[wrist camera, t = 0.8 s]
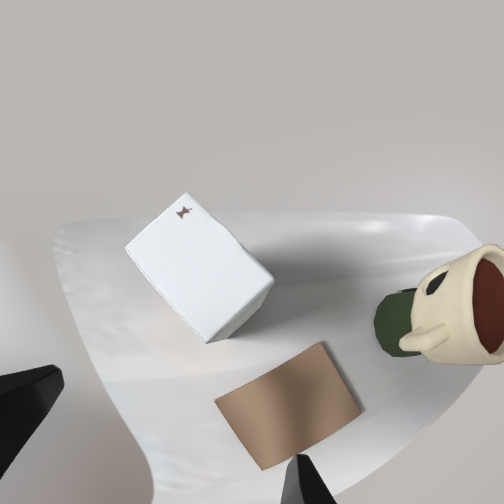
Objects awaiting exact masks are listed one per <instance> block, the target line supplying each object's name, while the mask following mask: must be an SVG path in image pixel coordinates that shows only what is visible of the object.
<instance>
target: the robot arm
mask: <svg viewBox="0 0 504 504" xmlns="http://www.w3.org/2000/svg"><path fill="white" fill-rule="evenodd" d="M63 388H64V379H63V375H62V371H61V369H60V368H58V367H57V366H55V365H47V366H43V367H39V368H34V369H30V370H26V371H21V372H17V373H12V374H7V375H2V376H0V479H1V478H2V476H3V475H4V473H5V472H6V470H7V469H8V467H9V466H10V464H11V463H12V462H13V460H14V459H15V457H16V456H17V454H18V453H19V452H20V450H21V449H22V447H23V446H24V445H25V443H26V442H27V441H28V439H29V438H30V437H31V435H32V434H33V433H34V431H35V430H36V429H37V427H38V426H39V425H40V424H41V422H42V421H43V420H44V418H45V417H46V415H47V414H48V412H49V411H50V410H51V408H52V406H53V405H54V403H55V401H56V400H57V398H58V396H59V395H60V393H61V391H62V390H63ZM281 504H337V503H336V502H335V500H334V499H333V497H332V495H331V493H330V492H329V490H328V488H327V487H326V485H325V483H324V482H323V480H322V478H321V477H320V475H319V473H318V471H317V470H316V468H315V466H314V465H313V463H312V461H311V459H310V458H309V456H308V455H305V454H296V455H295V456H294V457H293V459H292V460H291V461H290V463H289V464H288V467H287V470H286V476H285V482H284V487H283V493H282V498H281Z"/></svg>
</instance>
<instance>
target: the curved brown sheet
mask: <svg viewBox="0 0 504 504" xmlns="http://www.w3.org/2000/svg"><path fill="white" fill-rule="evenodd" d="M214 402H215V403H216V405H217V406H218V408H219V410H220V411H221V413H222V414H223V416H224V417H225V419H226V420H227V422H228V423H229V425H230V426H231V428H232V429H233V431H234V432H235V434H236V435H237V437H238V438H239V440H240V441H241V443H242V444H243V445H244V447H245V448H246V450H247V451H248V452H249V454H250V455H251V457H252V458H253V459H254V461H255V462H256V463H257V465H258V466H259V467H260V469H261V470H262V471H263V470H265V469H268V468H270V467H272V466H274V465H276V464H278V463H280V462H282V461H284V460H286V459H288V458H290V457H292V456H294V455H296V454H298V453H300V452H301V451H303V450H305V449H307V448H309V447H310V446H312V445H314V444H316V443H317V442H319V441H321V440H322V439H324V438H326V437H327V436H329V435H331V434H332V433H334V432H335V431H337V430H338V429H340V428H341V427H343V426H344V425H346V424H347V423H349V422H350V421H352V420H353V419H355V418H356V417H357V416H359V415H360V414H362V413H361V412H360V410H359V408H358V406H357V405H356V403H355V401H354V399H353V398H352V396H351V394H350V392H349V391H348V389H347V387H346V386H345V384H344V382H343V380H342V379H341V377H340V375H339V374H338V372H337V370H336V368H335V367H334V365H333V363H332V362H331V360H330V358H329V356H328V355H327V353H326V351H325V350H324V348H323V346H322V345H321V343H320V342H318V343H316V344H315V345H313V346H311V347H310V348H308V349H307V350H305V351H303V352H302V353H300V354H299V355H297V356H295V357H294V358H292V359H290V360H289V361H287V362H285V363H283V364H282V365H280V366H278V367H277V368H275V369H273V370H271V371H270V372H268V373H266V374H264V375H262V376H260V377H259V378H257V379H255V380H253V381H251V382H249V383H247V384H245V385H244V386H242V387H240V388H238V389H236V390H234V391H232V392H230V393H228V394H226V395H224V396H222V397H220V398H217V399H215V401H214Z"/></svg>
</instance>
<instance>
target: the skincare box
mask: <svg viewBox="0 0 504 504" xmlns="http://www.w3.org/2000/svg"><path fill="white" fill-rule="evenodd" d="M125 249H126V251H127V252H128V254H129V255H130V256H131V258H132V259H133V261H134V262H135V263H136V265H137V266H138V268H139V269H140V270H141V272H142V273H143V274H144V275H145V277H146V278H147V279H148V280H149V282H150V283H151V284H152V285H153V286H154V287H155V288H156V290H157V291H158V292H159V293H160V294H161V295H162V296H163V297H164V299H165V300H166V301H167V302H168V303H169V304H170V306H171V307H172V308H173V309H174V310H175V311H176V312H177V313H178V315H179V316H180V317H181V318H182V319H183V320H184V321H185V322H186V323H187V324H188V326H189V327H190V328H191V329H192V330H193V331H194V332H195V333H196V334H197V335H198V336H199V337H200V338H201V340H202V341H203V342H204V343H205V344H208V343H212V342H217V341H220V340H225V339H227V338H228V337H229V336H230V335H231V334H233V333H234V332H235V331H236V330H237V329H238V328H239V327H240V326H241V325H242V324H243V323H244V322H246V321H247V320H248V319H249V318H250V317H251V316H252V315H253V314H254V313H255V312H256V311H257V310H258V309H259V308H260V307H261V305H262V303H263V301H264V299H265V298H266V296H267V294H268V292H269V290H270V288H271V287H272V285H273V284H274V282H275V278H274V277H273V275H272V274H271V273H270V272H269V271H268V270H267V269H266V268H265V267H264V266H263V265H262V264H261V263H259V262H258V261H257V260H256V259H255V258H254V257H253V255H252V254H251V253H249V252H248V251H247V250H246V249H245V247H244V246H243V245H242V244H241V243H240V242H239V241H238V240H237V239H236V237H235V236H234V235H233V234H232V233H231V232H230V231H229V230H228V229H227V228H226V227H225V226H224V225H222V224H221V223H220V222H219V221H218V220H217V219H216V218H215V217H214V216H213V215H212V214H211V213H210V212H209V211H208V210H207V209H205V208H204V207H203V206H202V205H201V204H200V203H199V202H198V201H197V200H196V199H195V198H194V197H193V196H192V195H191V194H190V193H188V192H186V193H185V194H184V195H182V196H181V197H180V198H179V199H178V200H177V201H176V202H174V203H173V204H172V205H171V206H170V207H169V208H168V209H166V210H165V211H164V212H163V213H162V214H161V215H160V216H158V217H157V218H156V219H155V220H154V221H153V222H152V223H150V224H149V225H148V226H147V227H146V228H145V229H144V230H143V231H141V232H140V233H139V234H138V235H137V236H136V237H135V238H134V239H133V240H132V241H131V242H130V243H129V244H128V245H127V246H126V247H125Z"/></svg>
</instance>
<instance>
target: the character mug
mask: <svg viewBox="0 0 504 504" xmlns="http://www.w3.org/2000/svg"><path fill="white" fill-rule="evenodd" d="M400 291H403V292H401V293H396V294H391V295H388V296H386V297H385V298H384V300H383V301H382V302H381V303H380V305H379V306H378V308H377V312H376V315H375V319H374V326H375V332H376V337H377V339H378V341H379V343H380V345H381V347H382V349H383V350H384V351H386V352H387V353H389V354H390V355H391V356H393V357H409V356H416V355H421V354H423V355H424V356H425V357H426V358H427V359H428V360H429V361H431V362H434V363H439V364H445V365H495V364H500V363H502V362H504V250H503V249H502V248H501V247H499V246H498V245H494V244H487V245H484V246H482V247H480V248H478V249H476V250H474V251H472V252H470V253H468V254H466V255H464V256H462V257H460V258H458V259H456V260H454V261H451V262H449V263H447V264H445V265H443V266H441V267H439V268H437V269H435V270H433V271H432V272H430V273H428V274H427V275H426V276H425V277H424V278H423V279H422V281H421V282H420V284H419V286H418V288H411V289H405V290H400ZM397 292H399V291H397Z"/></svg>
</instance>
